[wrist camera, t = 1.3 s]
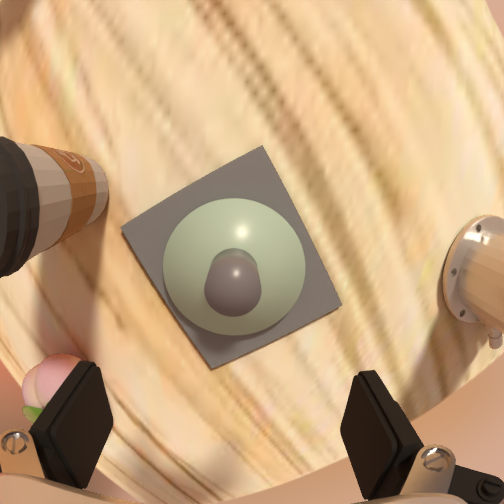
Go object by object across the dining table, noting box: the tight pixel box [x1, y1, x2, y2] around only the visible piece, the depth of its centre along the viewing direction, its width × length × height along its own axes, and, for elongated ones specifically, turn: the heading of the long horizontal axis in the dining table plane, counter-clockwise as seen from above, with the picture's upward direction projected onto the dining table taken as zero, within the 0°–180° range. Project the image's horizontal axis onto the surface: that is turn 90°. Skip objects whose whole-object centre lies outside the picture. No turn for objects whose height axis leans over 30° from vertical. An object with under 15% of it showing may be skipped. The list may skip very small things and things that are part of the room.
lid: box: [163, 198, 305, 336], centre depth 25 cm, size 12×12×6 cm
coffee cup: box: [0, 137, 109, 278], centre depth 19 cm, size 8×8×15 cm
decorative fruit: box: [22, 354, 82, 423], centre depth 26 cm, size 9×8×10 cm
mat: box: [120, 145, 342, 369], centre depth 28 cm, size 16×14×1 cm
